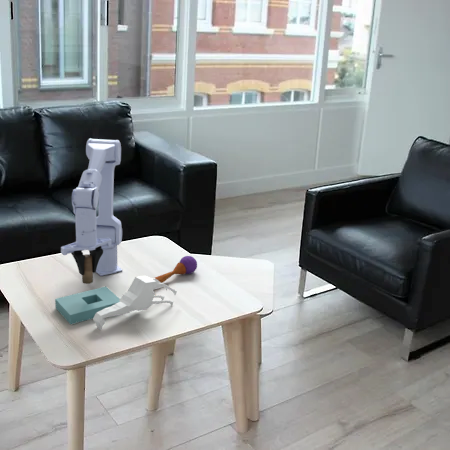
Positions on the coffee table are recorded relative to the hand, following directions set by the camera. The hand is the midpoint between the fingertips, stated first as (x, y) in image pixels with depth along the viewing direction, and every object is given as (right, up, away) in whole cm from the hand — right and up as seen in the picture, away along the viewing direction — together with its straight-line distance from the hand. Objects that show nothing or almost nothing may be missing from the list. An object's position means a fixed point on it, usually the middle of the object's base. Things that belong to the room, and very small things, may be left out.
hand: (87, 272), depth 183 cm
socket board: (0, -11, +1) cm, 11 cm away
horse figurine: (+14, -13, 0) cm, 19 cm away
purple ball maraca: (+23, -4, +23) cm, 33 cm away
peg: (0, -3, +1) cm, 3 cm away
